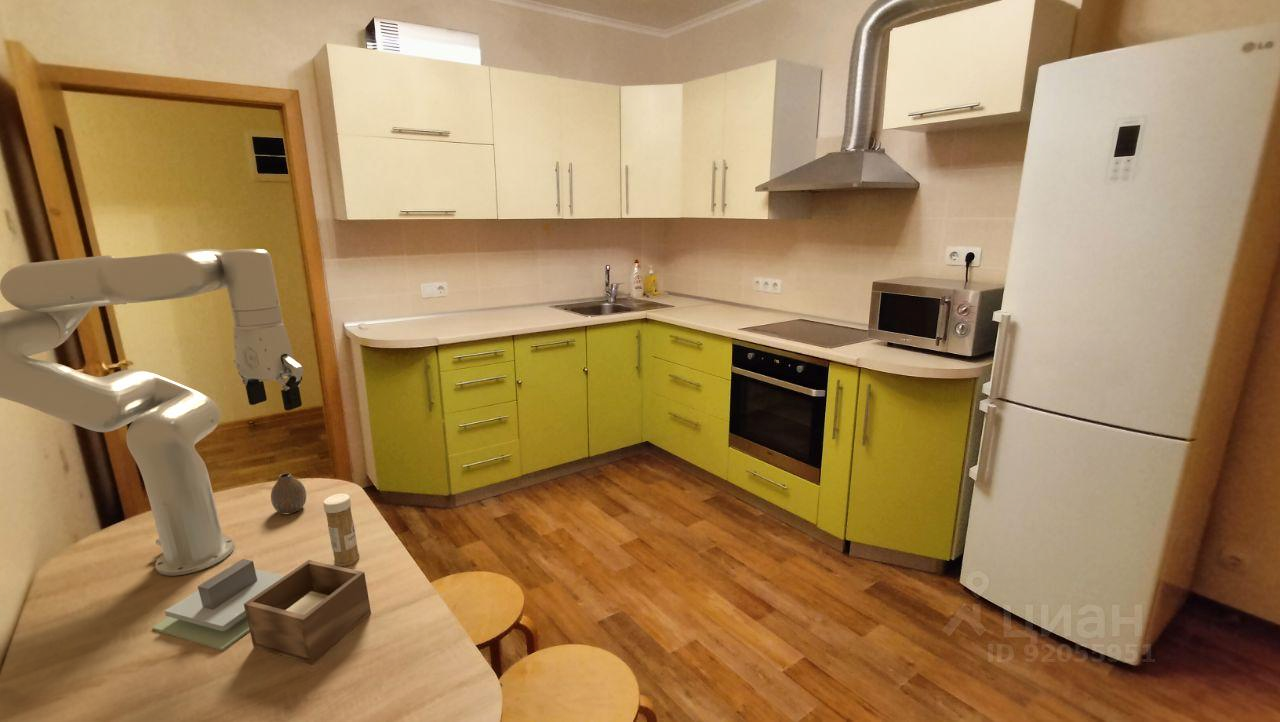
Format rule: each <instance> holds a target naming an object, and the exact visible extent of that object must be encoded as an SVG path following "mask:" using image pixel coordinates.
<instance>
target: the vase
mask: <svg viewBox="0 0 1280 722" xmlns="http://www.w3.org/2000/svg"><path fill="white" fill-rule="evenodd" d="M270 501H271V505H272V507H273V508H274V510H275V511H276V512H278V513H279V514H282V513H292V514H294V513H293V512H295V513H297V512H296V511H298V510H299V511H301V509H302V508H303V507H304V506H305V504H306V501H307V491H306V488H305V486H304V484H303V483H302V482H301V481H300V480H299V479H297V478H295V477H294V476H293V475H292V474H291V473H290V472H285V473H282V474H279V475H278V478H277V480H276V482H275V484H274V486H272V489H271V492H270ZM299 511H298V512H299Z"/></svg>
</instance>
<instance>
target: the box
mask: <svg viewBox="0 0 1280 722" xmlns="http://www.w3.org/2000/svg"><path fill="white" fill-rule="evenodd" d="M365 573H366V572H364V571H362V570H361V571H360V570H356V569H351V568H348V567H344V566H337V565H334V564H329V563H325V562H322V561H320V562H319V561H316V560H313V559H312V560H311V559H308V560H306V561H305V562H304V563H302V564H301V565H299V566H298V567H296V568H295V569H294V570H291V571H290V572H289V573H287V574H286V575H284V577H283V578H281V579H280V580H278V581H277V582H275V583H274V584H272V585H271V586H269V587H268V588H266V589H265V590H263V591H262V592H261V593H259V594H258V595H256V596H255V597H253V598H252V599H250V600H249V601H247V602H246V603H244V608H245V612H246V616H247V621H248V625H249V629H250V631H249V633H250V639H251V642H252V647H253V649H254V648H255V649H258V650H262V651H265V652H268V653H271V654H275V655H279V656H281V657H285V658H288V659H292V660H295V661H298V662H302V663H305V664H309V665H314V664H315V663H316V662H317V661H318V660H319V659H321V658H322V657H323V656H324V655H325V654H326V653H327V652H329V651H330V650H331V649H332V648H333V647H335V645H336V644H338V643H339V642H340V641H341V640H342V639H343V638H345V637H346V636H347V635H348V634H349V633H350V632H351V631H353V629H355V628H356V627H357V626H358V625H359V624H360V623H362V622H363V621H364V620H365V619H366V618H368V616H369V615H371V614H372V611H371V606H370V605H371V604H370V603H371V602H370V598H369V592H368V586H367V580H366V574H365Z"/></svg>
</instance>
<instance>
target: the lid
mask: <svg viewBox="0 0 1280 722" xmlns="http://www.w3.org/2000/svg"><path fill="white" fill-rule="evenodd" d="M284 576H285V575H283V574H279V573H275V572H269V571H266V570H260V569H255V564H254V561H253V560H249V559H247V558H246V559H245V558H241V559H240V560H238V561H237V562H235V563H234V564H232V565H231V566H229V567H227V568H226V569H224V570H222V571H220V572H219V573H217V574H215V575H214V576H212V577H210V578H209V579H207V580H206V581H204V582H202V583H201V584H199V585H198V586H197V589H198V590H196V591H194V592H193V593H191V594H190V595H187V596H186V597H185V598H183V599H181V600H180V601H178V602H176V603H175V604H173V605H172V606H170V607H169V608H167V609H165V610H164V615H165V617H167V618H168V617H172V618H175V619H179V620H183V621H186V622H190V623H194V624H198V625H201V626H205V627H209V628H212V629H216V630H220V631H225V630H229V629H230V628H232V627H233V626H235V625H236V624H237V623H239V622H240V621H242V620H243V619H244V618H246V617H247V616H246V612H245V608H244V603H246V602H247V601H249V600H250V599H252V598H253V597H255V596H256V595H258V594H259V593H261V592H262V591H263V590H265V589H266V588H268V587H269V586H271V585H272V584H274V583H275V582H277V581H278V580H280V579H281V578H283V577H284Z"/></svg>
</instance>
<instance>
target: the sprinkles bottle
mask: <svg viewBox="0 0 1280 722" xmlns="http://www.w3.org/2000/svg"><path fill="white" fill-rule="evenodd" d="M322 503H323V509H324V512H325V516H326V521H327V527H328V533H329V539H330V540H329V541H330V545H331V550H332V552H333V558H334V559H333V560H334V561H333V562H334V564H335V566H339V567H347V566H350V565H353V564H355V563H356V562H357V561H358V560H359V559H360V556H361V555H360V553H359V549H358V548H359V547H358V542H357V536H356V530H355V524H354V523H355V522H354V520H353V515H352V510H351V509H352V507H351V505H352V502H351V497H350V495H349V494H347V493H337V494H333V495H330V496H327V498H325V499H324V500H323V502H322Z"/></svg>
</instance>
